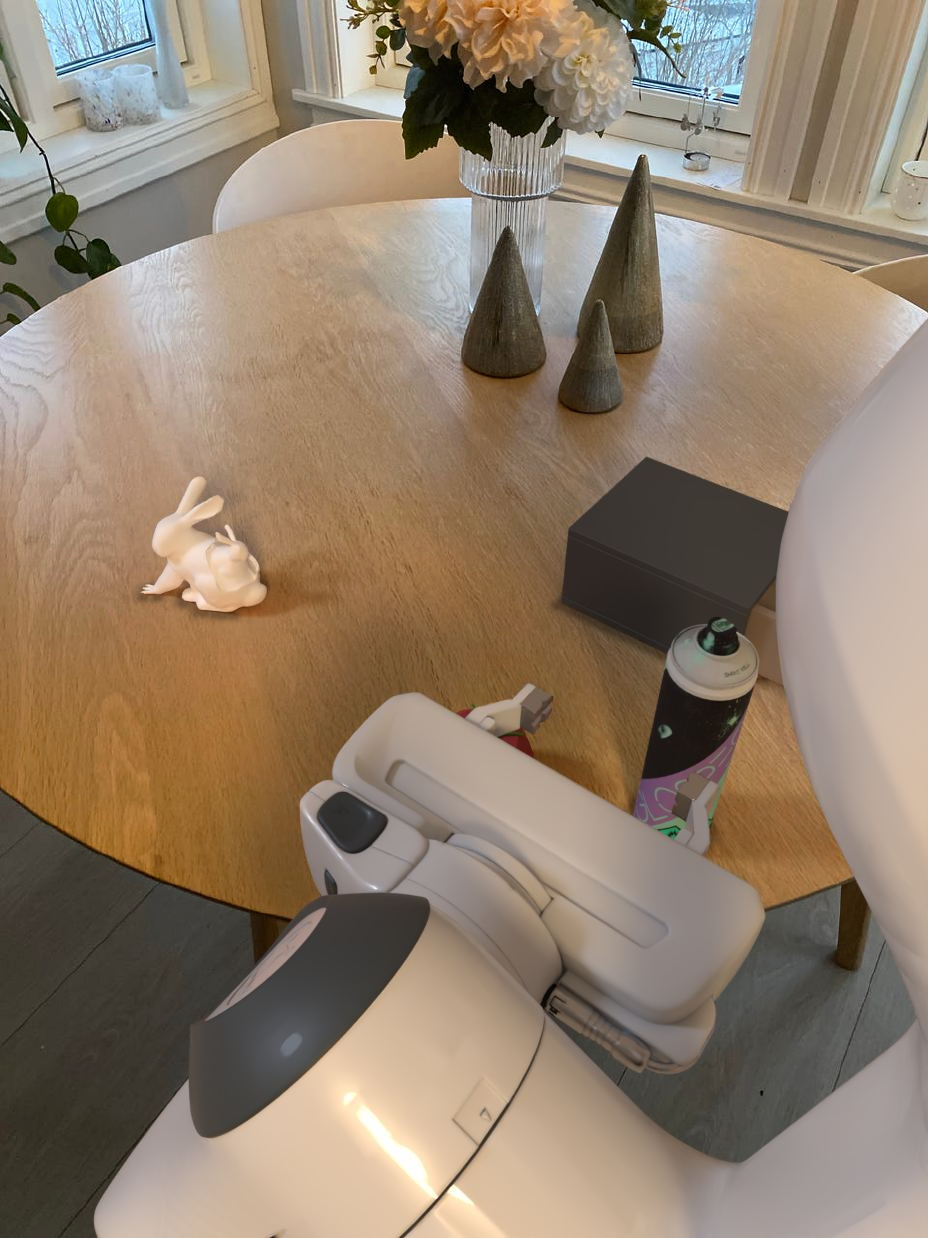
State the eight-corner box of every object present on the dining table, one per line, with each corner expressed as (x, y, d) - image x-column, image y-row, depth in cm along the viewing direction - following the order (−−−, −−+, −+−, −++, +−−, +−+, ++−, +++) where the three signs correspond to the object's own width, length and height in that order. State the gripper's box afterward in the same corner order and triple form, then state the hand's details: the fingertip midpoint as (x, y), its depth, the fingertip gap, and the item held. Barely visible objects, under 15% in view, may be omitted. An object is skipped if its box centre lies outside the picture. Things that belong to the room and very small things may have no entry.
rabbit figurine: (138, 593, 88) (112, 508, 81) (186, 545, 93) (165, 461, 86) (250, 628, 85) (233, 543, 78) (294, 577, 90) (281, 492, 83)
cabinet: (793, 596, 88) (817, 522, 82) (728, 683, 80) (749, 608, 74) (634, 528, 95) (646, 455, 89) (560, 602, 87) (568, 528, 81)
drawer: (966, 666, 80) (997, 607, 76) (918, 760, 73) (949, 701, 68) (740, 570, 89) (755, 511, 85) (677, 645, 82) (691, 586, 77)
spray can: (624, 840, 69) (665, 643, 55) (643, 782, 73) (686, 584, 59) (700, 865, 67) (761, 669, 54) (715, 805, 71) (776, 607, 57)
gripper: (690, 1067, 34) (836, 806, 42) (272, 780, 42) (460, 610, 50) (662, 1131, 38) (800, 883, 46) (289, 859, 47) (459, 691, 55)
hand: (619, 739), depth 48 cm, fingers open, 8 cm apart
